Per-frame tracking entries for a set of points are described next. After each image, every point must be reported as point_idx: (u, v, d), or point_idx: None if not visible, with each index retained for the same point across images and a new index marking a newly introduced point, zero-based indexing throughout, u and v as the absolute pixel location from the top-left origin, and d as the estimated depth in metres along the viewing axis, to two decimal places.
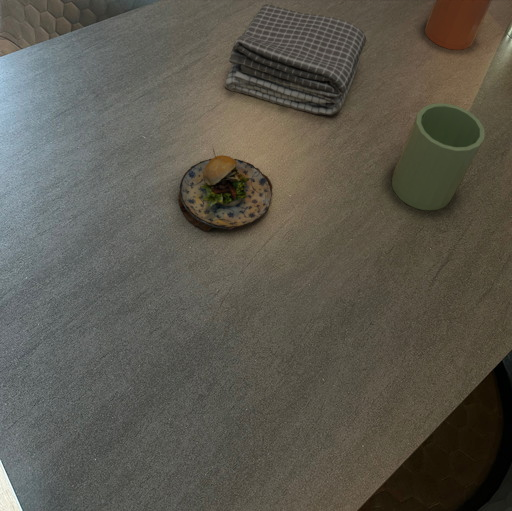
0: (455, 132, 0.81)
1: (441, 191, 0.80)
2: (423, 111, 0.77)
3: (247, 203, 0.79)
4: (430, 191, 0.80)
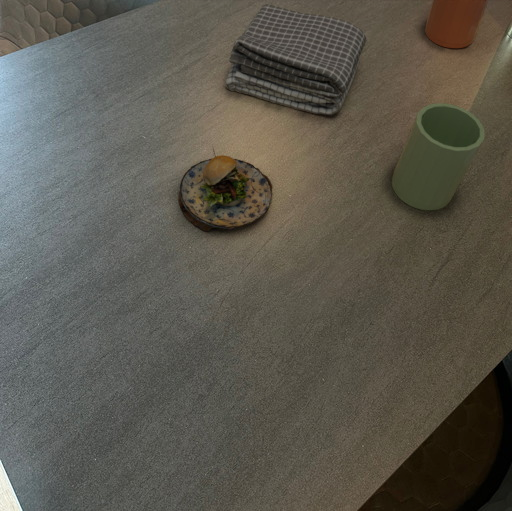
0: (455, 132, 0.81)
1: (441, 191, 0.80)
2: (423, 111, 0.77)
3: (247, 203, 0.79)
4: (430, 191, 0.80)
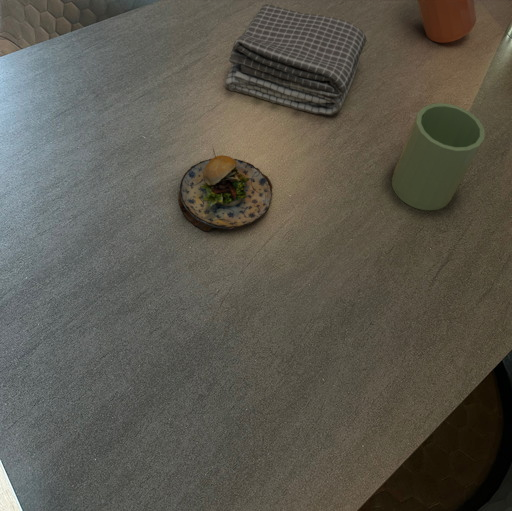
0: (455, 132, 0.81)
1: (441, 191, 0.80)
2: (423, 111, 0.77)
3: (247, 203, 0.79)
4: (430, 191, 0.80)
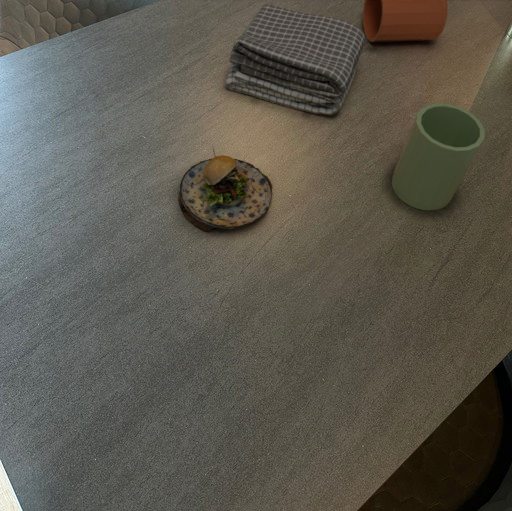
0: (455, 132, 0.81)
1: (441, 191, 0.80)
2: (423, 111, 0.77)
3: (247, 203, 0.79)
4: (430, 191, 0.80)
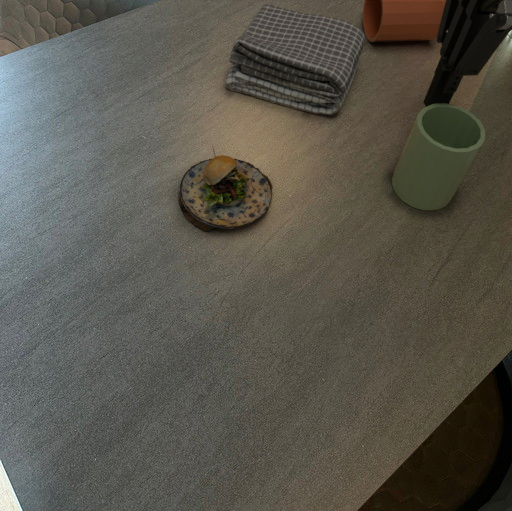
0: (456, 132, 0.81)
1: (441, 191, 0.80)
2: (424, 111, 0.77)
3: (247, 203, 0.79)
4: (430, 191, 0.80)
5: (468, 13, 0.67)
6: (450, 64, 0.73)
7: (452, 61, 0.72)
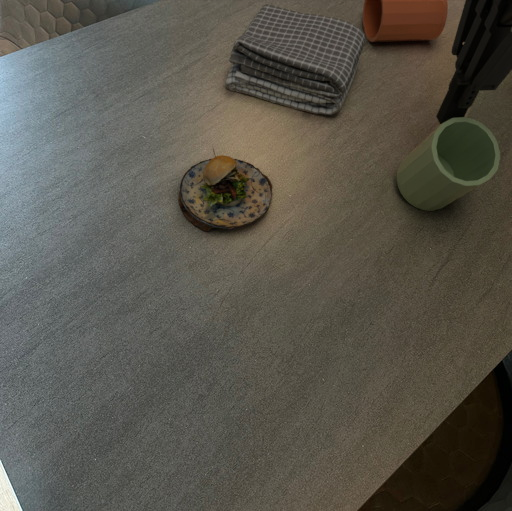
0: (471, 141, 0.77)
1: (444, 202, 0.79)
2: (441, 129, 0.73)
3: (247, 203, 0.79)
4: (433, 202, 0.79)
5: (487, 25, 0.64)
6: (466, 78, 0.69)
7: (468, 75, 0.69)
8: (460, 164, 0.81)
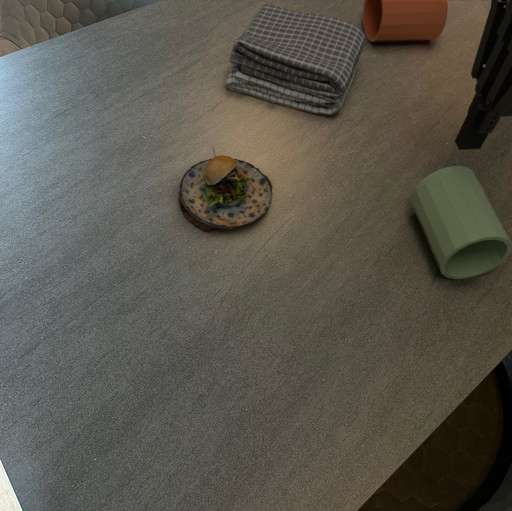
0: None
1: None
2: (464, 246, 0.70)
3: (247, 203, 0.79)
4: None
5: (511, 50, 0.61)
6: (487, 103, 0.66)
7: (490, 100, 0.66)
8: None
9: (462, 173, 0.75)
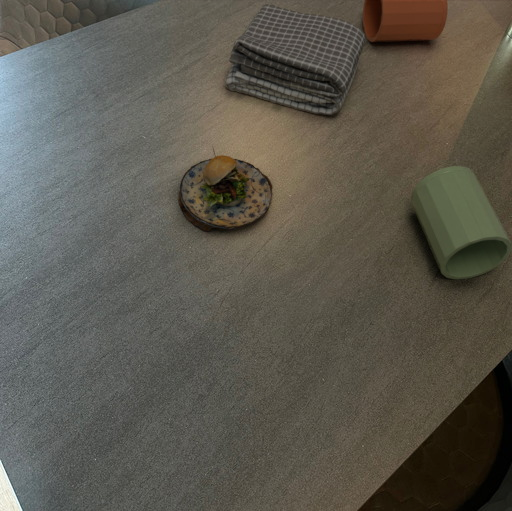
0: None
1: None
2: (464, 246, 0.70)
3: (247, 203, 0.79)
4: None
5: None
6: None
7: None
8: None
9: (462, 173, 0.75)
